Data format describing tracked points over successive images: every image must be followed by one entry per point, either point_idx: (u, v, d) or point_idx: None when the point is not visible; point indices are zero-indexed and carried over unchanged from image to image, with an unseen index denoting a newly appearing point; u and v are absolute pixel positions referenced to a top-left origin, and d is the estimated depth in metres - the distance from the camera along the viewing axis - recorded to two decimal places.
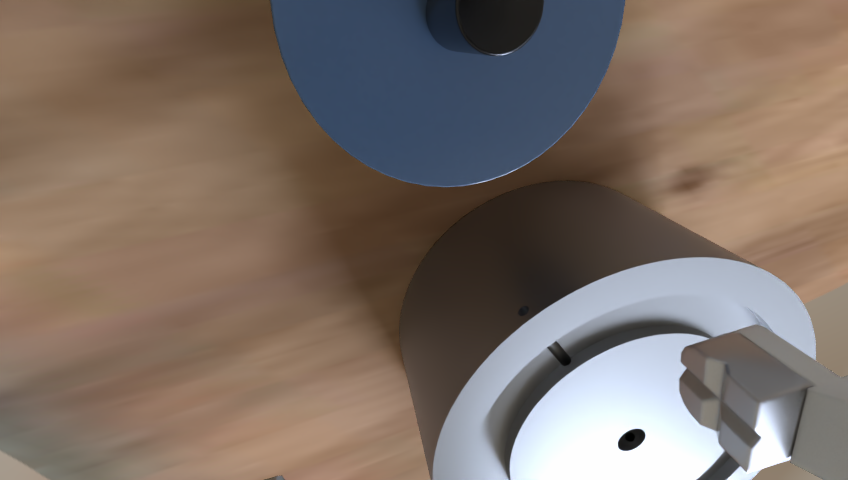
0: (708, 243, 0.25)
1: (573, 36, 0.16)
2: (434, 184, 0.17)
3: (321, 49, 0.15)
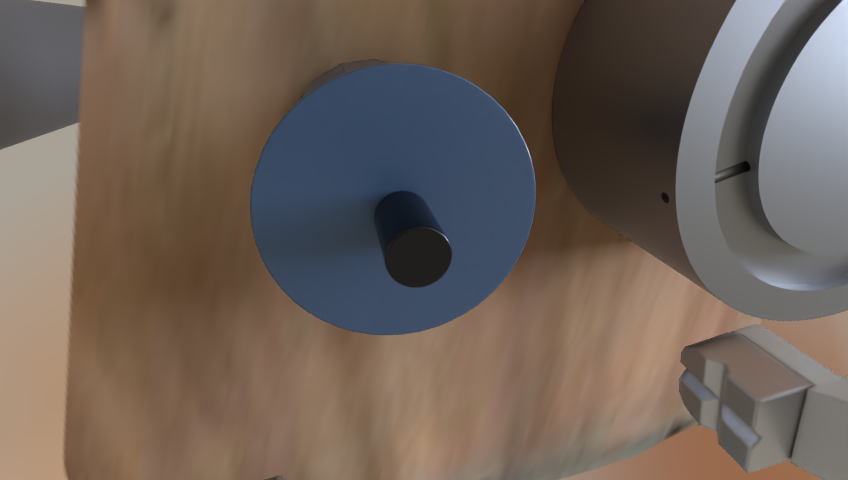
0: None
1: (452, 126, 0.18)
2: (513, 264, 0.21)
3: (392, 312, 0.21)
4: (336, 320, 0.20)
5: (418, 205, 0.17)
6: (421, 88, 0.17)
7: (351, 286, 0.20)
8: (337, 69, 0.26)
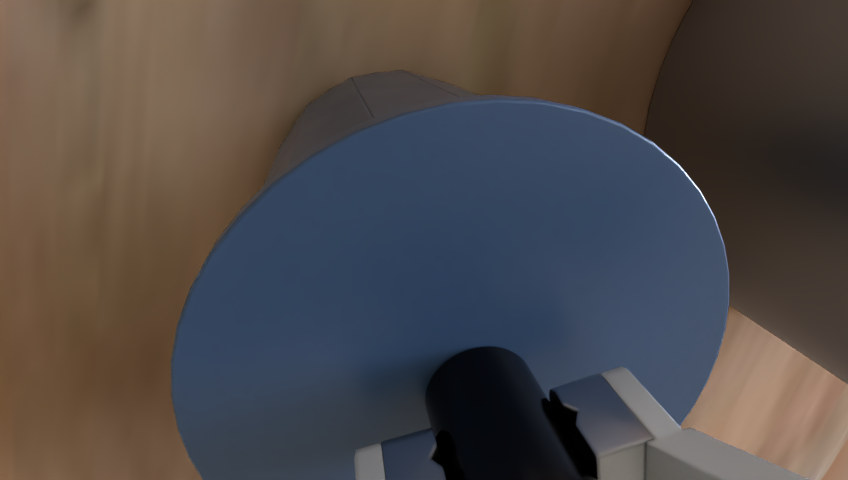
0: None
1: (593, 224, 0.09)
2: None
3: None
4: None
5: (533, 407, 0.08)
6: (540, 151, 0.08)
7: None
8: (347, 88, 0.17)
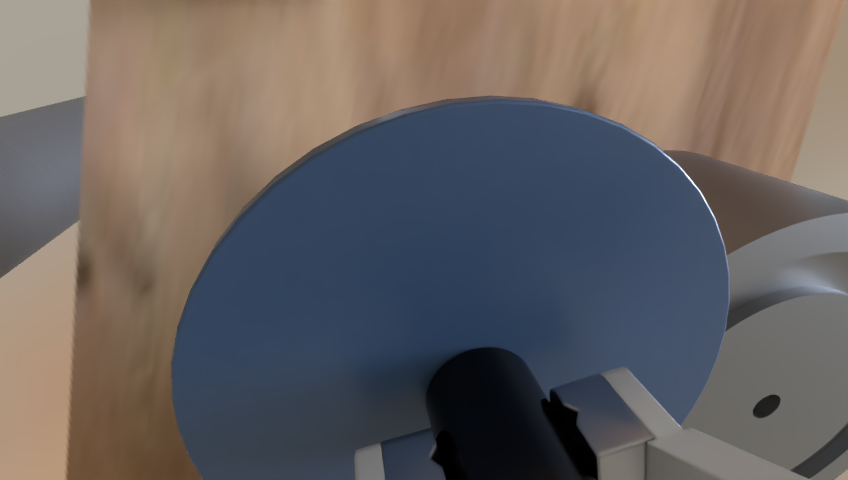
0: None
1: (593, 225, 0.09)
2: None
3: None
4: None
5: (533, 408, 0.08)
6: (541, 152, 0.08)
7: None
8: None
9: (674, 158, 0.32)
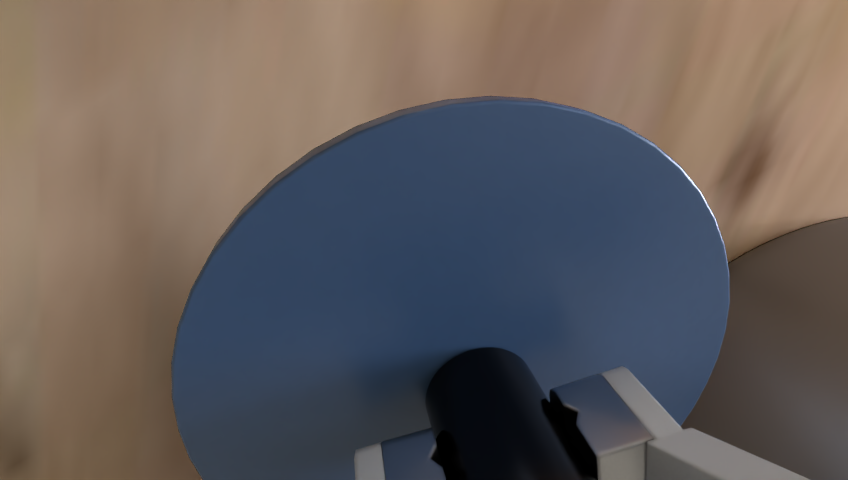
0: None
1: (593, 225, 0.09)
2: None
3: None
4: None
5: (533, 408, 0.08)
6: (541, 152, 0.08)
7: None
8: None
9: None
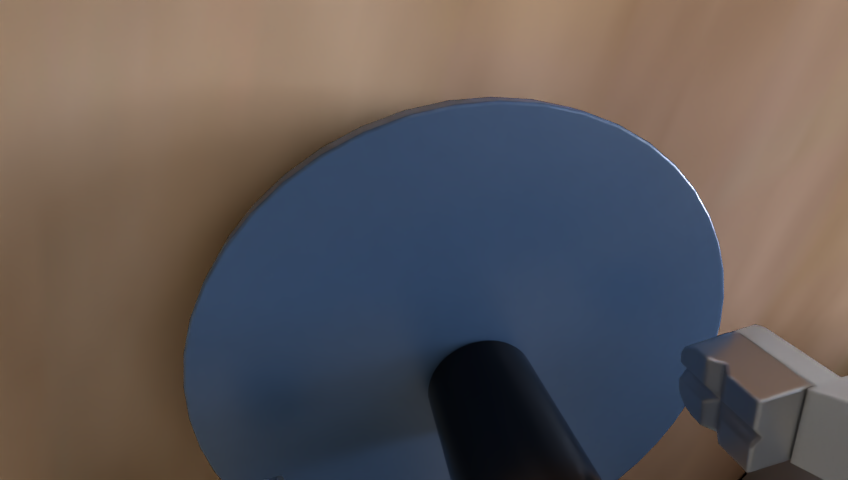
0: None
1: (591, 222, 0.09)
2: (661, 436, 0.12)
3: None
4: None
5: (532, 398, 0.08)
6: (540, 151, 0.08)
7: None
8: None
9: None
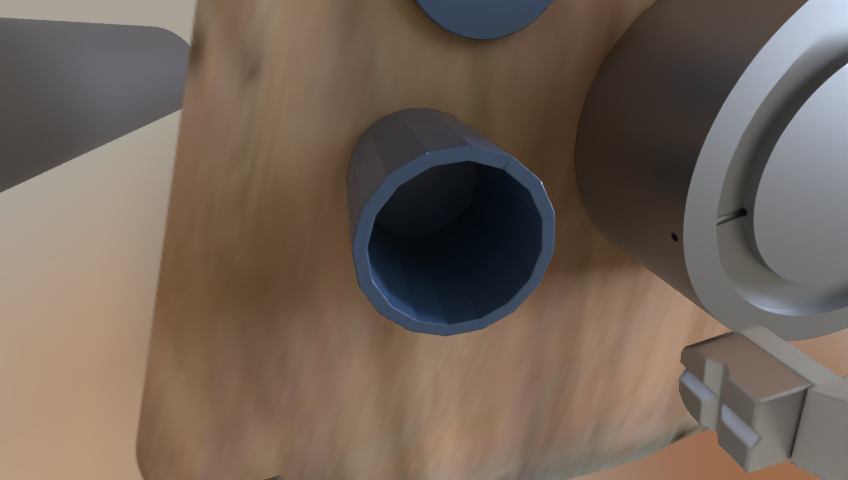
0: (738, 31, 0.25)
1: None
2: None
3: (476, 18, 0.31)
4: (439, 19, 0.31)
5: None
6: None
7: None
8: (397, 120, 0.31)
9: None
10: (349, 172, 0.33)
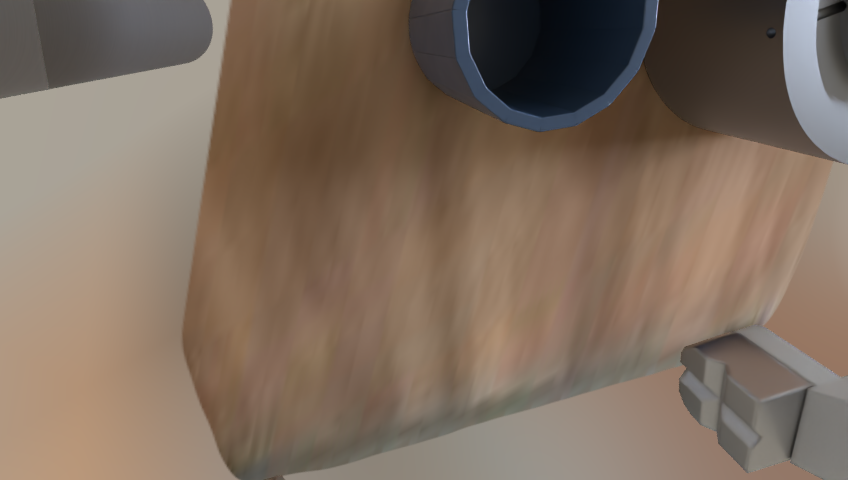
0: None
1: None
2: None
3: None
4: None
5: None
6: None
7: None
8: None
9: None
10: (415, 3, 0.32)
